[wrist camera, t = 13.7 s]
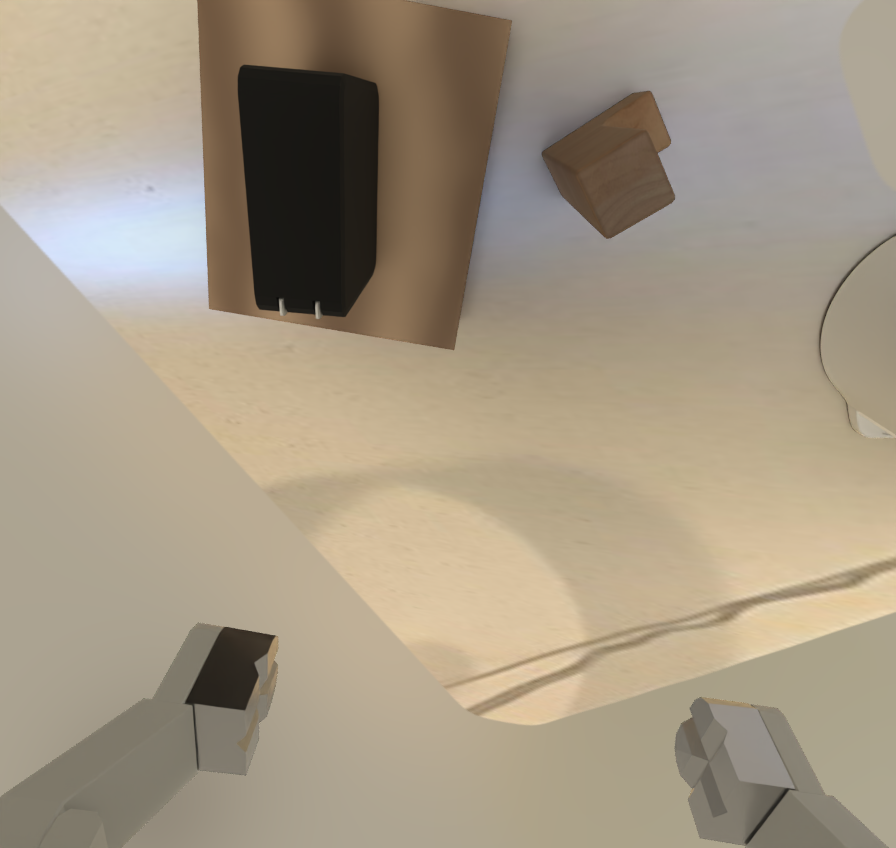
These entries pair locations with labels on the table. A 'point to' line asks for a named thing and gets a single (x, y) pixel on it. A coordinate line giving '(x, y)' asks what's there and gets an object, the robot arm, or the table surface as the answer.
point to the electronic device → (309, 186)
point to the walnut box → (399, 146)
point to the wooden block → (614, 165)
